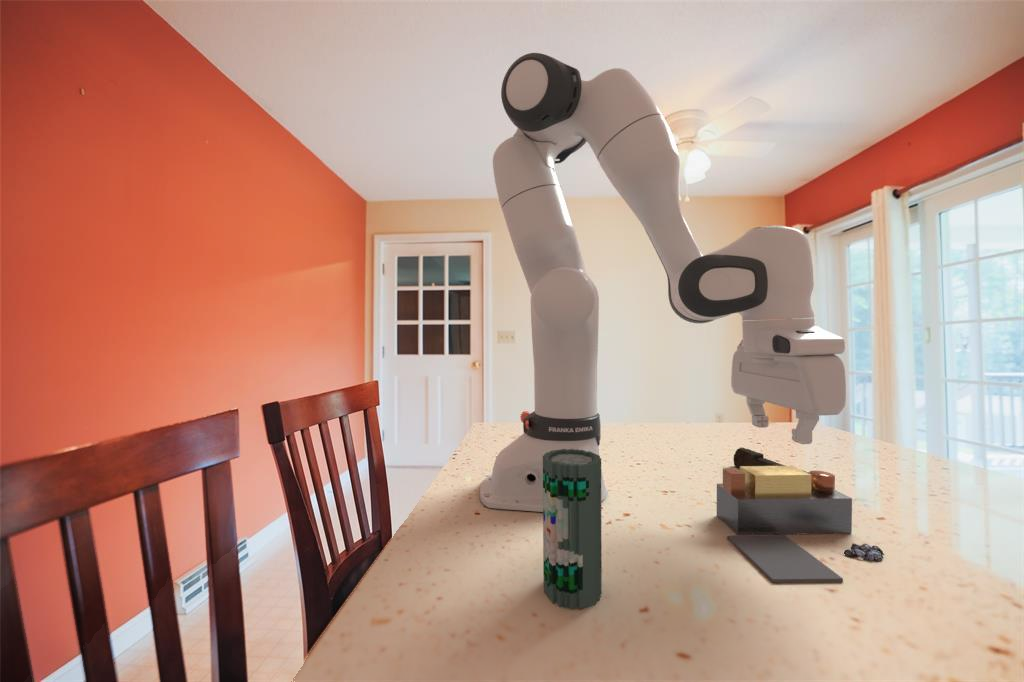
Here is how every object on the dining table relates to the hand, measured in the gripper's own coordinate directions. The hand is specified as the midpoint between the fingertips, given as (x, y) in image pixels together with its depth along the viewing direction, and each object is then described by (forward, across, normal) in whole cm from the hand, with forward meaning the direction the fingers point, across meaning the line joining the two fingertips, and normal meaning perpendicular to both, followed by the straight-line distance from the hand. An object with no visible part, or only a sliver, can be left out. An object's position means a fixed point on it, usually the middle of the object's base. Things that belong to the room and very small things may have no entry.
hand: (779, 434), depth 61 cm
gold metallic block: (+8, 0, -1) cm, 8 cm away
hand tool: (+14, -17, +10) cm, 24 cm away
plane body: (+13, 0, 0) cm, 13 cm away
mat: (+13, +9, -6) cm, 17 cm away
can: (+13, +15, -33) cm, 38 cm away
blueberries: (+14, +7, +6) cm, 17 cm away
